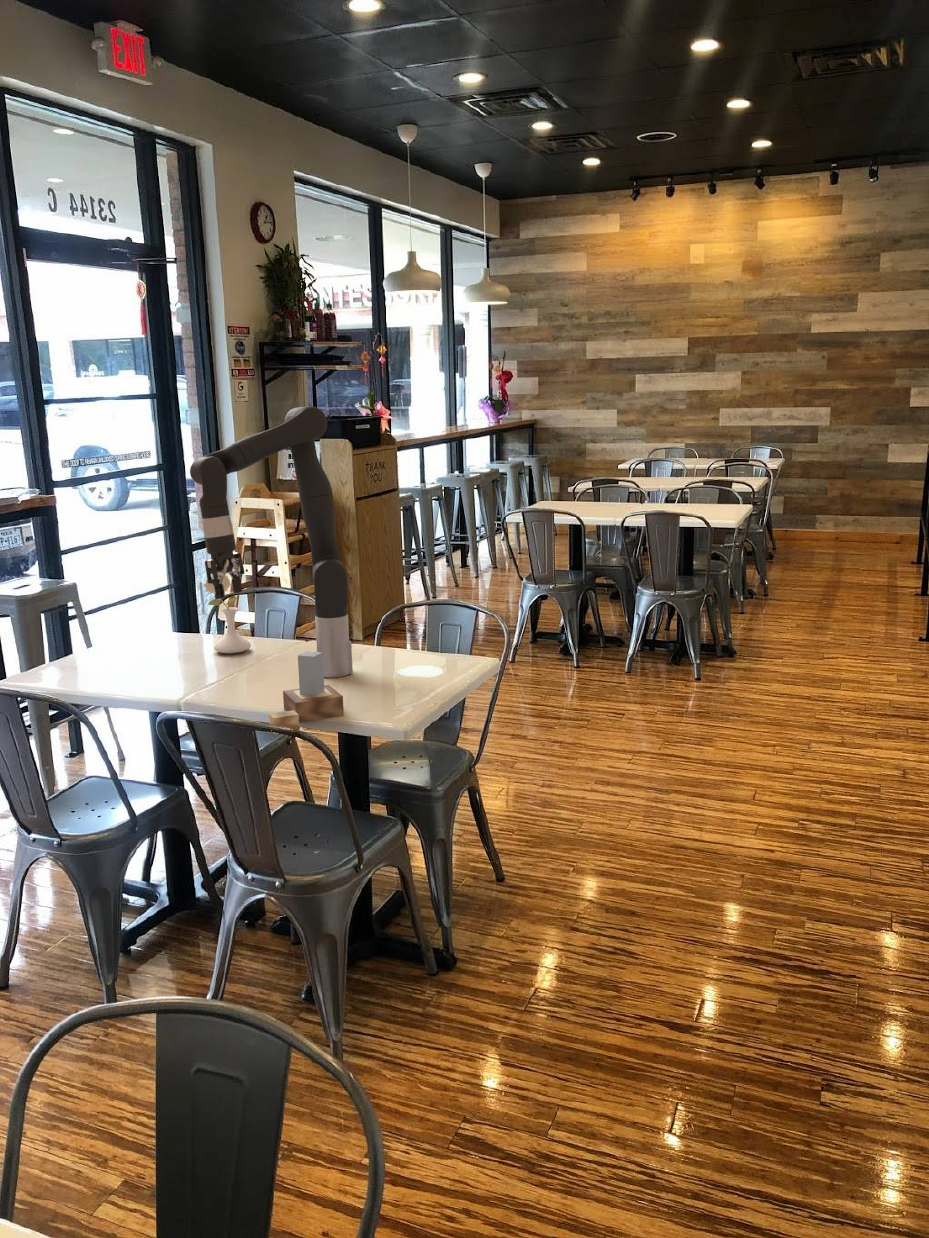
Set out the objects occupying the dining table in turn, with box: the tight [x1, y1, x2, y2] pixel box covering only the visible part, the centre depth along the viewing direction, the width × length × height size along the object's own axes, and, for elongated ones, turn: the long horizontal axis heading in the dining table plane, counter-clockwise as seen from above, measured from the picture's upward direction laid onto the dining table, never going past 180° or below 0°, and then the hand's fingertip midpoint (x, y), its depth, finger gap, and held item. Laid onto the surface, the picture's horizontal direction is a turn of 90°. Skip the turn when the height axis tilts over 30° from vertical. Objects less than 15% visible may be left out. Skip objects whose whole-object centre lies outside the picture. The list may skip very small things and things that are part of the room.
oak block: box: [268, 710, 300, 735], centre depth 250 cm, size 6×4×4 cm, turn 115°
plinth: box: [282, 684, 345, 723], centre depth 263 cm, size 12×12×5 cm
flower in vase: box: [203, 574, 252, 654], centre depth 327 cm, size 13×11×25 cm
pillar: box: [297, 651, 325, 696], centre depth 261 cm, size 4×4×10 cm
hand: (229, 595), depth 275 cm, fingers open, 8 cm apart
